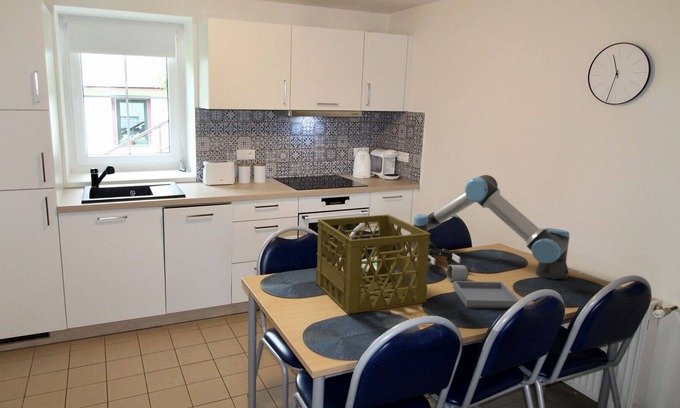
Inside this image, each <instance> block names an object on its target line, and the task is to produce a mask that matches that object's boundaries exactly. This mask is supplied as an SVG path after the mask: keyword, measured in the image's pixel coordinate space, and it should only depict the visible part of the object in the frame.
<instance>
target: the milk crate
mask: <svg viewBox="0 0 680 408" xmlns="http://www.w3.org/2000/svg"><path fill="white" fill-rule="evenodd" d="M317 222H318V223H317V225H316V226H317V252H316V255H317V257H316V258H317V262H316V263H317V265H316V266H317V267H316V271H315V273H316V274H315V284H316V285H318V287H320V288H321V290H323V291H324V293H326V294H327V295H328V296H329V297H330V299H332V300H333V301H334V302H335V303H336V304H338V306H340V308H341V309H343V310H344V311H345V313H347V314H348V315H352V314H357V313H358V312H359V313H364V312H371V311H378V310H383V309H390V308H396V307H397V308H398V307H403V306H410V305H411V306H412V305H416V304H417V305H418V304H423V303H426V302H427V294H428V290H427V289H428V285H427V279H428V278H427V277H428V271H429V269H428V262H429V261H428V251H429V241H431V239H430V237H431V236H430V235H431V233H430V232H428V231H427V232H426V231H424V230H422V229H419V228H417V227H415V226H414V224H413V225H412V224H410V223H409V222H406V221H404V220H402V219H399V218H397V217H394V216H393V215H391V214H377V215H364V216H363V215H361V216H351V217H350V216H349V217H334V218H323V219H322V218H320V219H317ZM370 223H376V224H375V227H374V229H373V230H372V228H371V226H370ZM351 224H352V225H355V224H364V227H363V228H362V229H351V230H349V229H348V230H344V227H345V226H346V225H351ZM333 226H338V228H337V229H336V228H335V227H333ZM395 226H396V227H395ZM367 228H368V229H369V231H370V234H363V233H364V232H365V231H366V230H367ZM377 229H378V232H377V233H376V231H377ZM340 230H341V231H342V232H341V231H340ZM402 230H404V231H408V232H409V233H411V234H402ZM352 232H353V233H354V232H355V233H356V232H357V234H358V235H351V233H352ZM331 236H332V237H331ZM375 236H376V237H375ZM364 237H369V238H364ZM352 238H353V239H352ZM354 238H356V239H354ZM412 242H414V243H415V247H414V246H412V245H411V244H412ZM393 248H394V249H395V250H394V249H393ZM370 250H371V253H370V254H369V251H370ZM375 256H377V259H376V260H374V259H375ZM364 257H365V259H367V260H366V261H362V260H364ZM372 257H373V258H372ZM371 258H372V260H371ZM415 261H416V262H415ZM370 263H371V264H370ZM373 263H377V270H375V268H374V265H373ZM362 264H366V265H365V267H364V269H363V270H362ZM368 265H369V268H368V270H367V273H365V270H366V268H367V266H368ZM391 266H392V267H391ZM394 268H395V269H394ZM395 270H397V272H395ZM409 278H410V279H411V280H409ZM403 279H404V280H403ZM366 283H367V284H366ZM368 283H369V284H368ZM362 288H363V289H362ZM390 293H392V294H390ZM371 295H373V296H377V297H372V296H371ZM386 298H389V299H386ZM351 313H352V314H351Z"/></svg>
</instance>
